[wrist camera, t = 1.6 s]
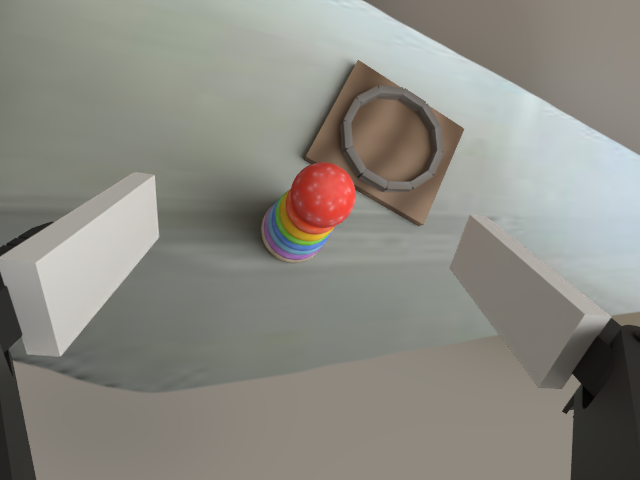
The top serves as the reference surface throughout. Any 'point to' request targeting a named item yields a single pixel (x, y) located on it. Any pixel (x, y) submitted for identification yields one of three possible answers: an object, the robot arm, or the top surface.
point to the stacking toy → (308, 212)
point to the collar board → (387, 143)
